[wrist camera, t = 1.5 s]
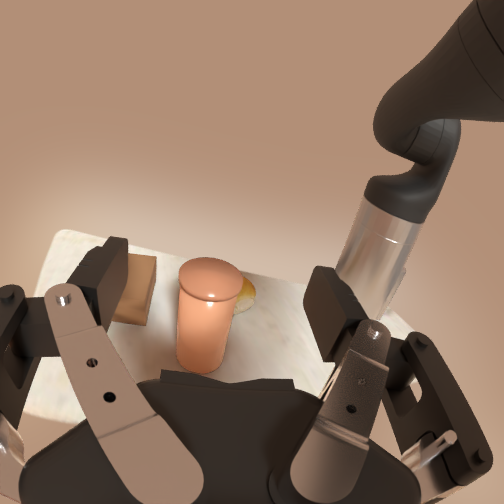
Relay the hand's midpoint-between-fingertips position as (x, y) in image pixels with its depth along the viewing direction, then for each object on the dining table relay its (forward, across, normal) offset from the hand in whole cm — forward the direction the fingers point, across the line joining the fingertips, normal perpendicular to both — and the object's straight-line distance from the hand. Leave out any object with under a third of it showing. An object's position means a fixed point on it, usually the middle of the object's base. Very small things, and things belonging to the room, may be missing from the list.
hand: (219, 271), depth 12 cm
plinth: (+19, +11, +18) cm, 28 cm away
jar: (+11, 0, +18) cm, 22 cm away
